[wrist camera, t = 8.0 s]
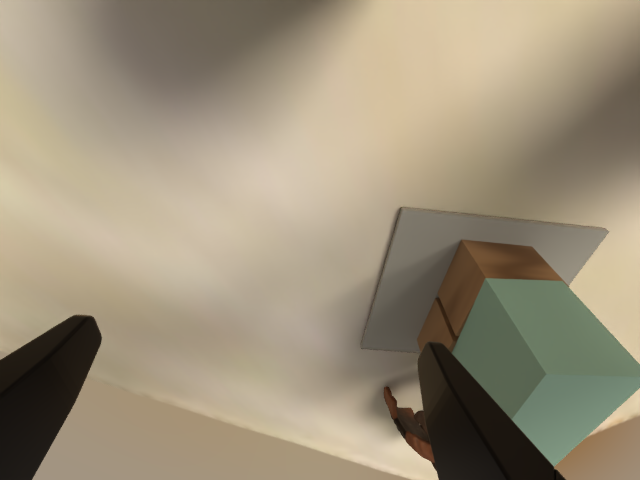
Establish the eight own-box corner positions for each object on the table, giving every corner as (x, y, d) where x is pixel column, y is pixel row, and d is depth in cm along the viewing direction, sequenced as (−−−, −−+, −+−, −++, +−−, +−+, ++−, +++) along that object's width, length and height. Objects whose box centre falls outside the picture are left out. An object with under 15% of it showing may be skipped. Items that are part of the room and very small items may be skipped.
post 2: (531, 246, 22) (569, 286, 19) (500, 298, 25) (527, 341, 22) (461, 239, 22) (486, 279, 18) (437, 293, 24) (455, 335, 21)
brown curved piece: (369, 367, 31) (427, 429, 24) (444, 326, 34) (516, 371, 27) (390, 453, 35) (445, 530, 28) (455, 410, 38) (521, 469, 31)
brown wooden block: (497, 303, 25) (524, 346, 22) (472, 343, 28) (493, 387, 25) (435, 297, 25) (452, 341, 21) (416, 339, 28) (429, 383, 24)
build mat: (605, 228, 22) (609, 231, 21) (511, 356, 30) (513, 359, 29) (401, 207, 21) (402, 209, 20) (360, 344, 29) (361, 348, 28)
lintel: (485, 278, 18) (546, 374, 13) (562, 281, 18) (651, 377, 14) (436, 386, 25) (465, 479, 20) (494, 388, 25) (538, 481, 20)
